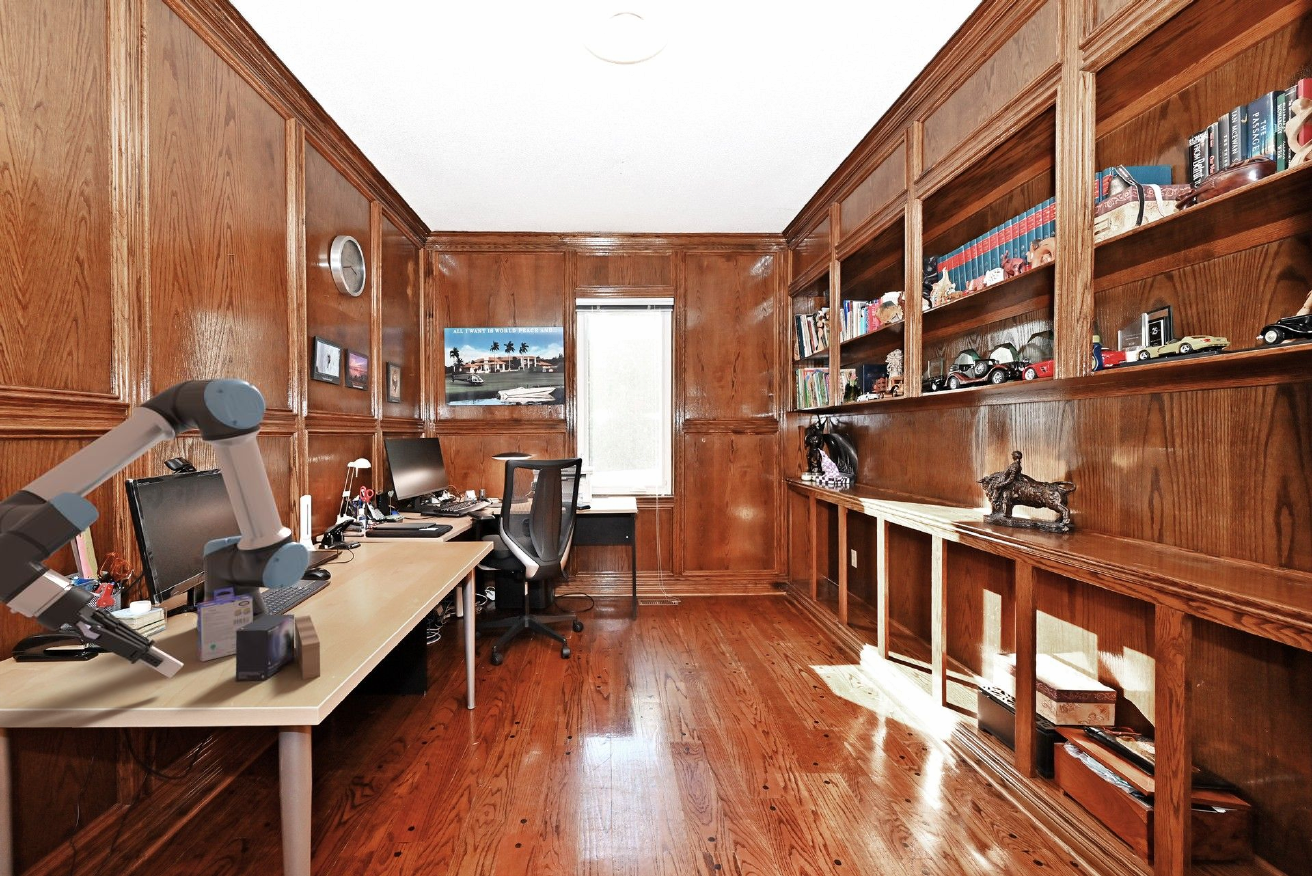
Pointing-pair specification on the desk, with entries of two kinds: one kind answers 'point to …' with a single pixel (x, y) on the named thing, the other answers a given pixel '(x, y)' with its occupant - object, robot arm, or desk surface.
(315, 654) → the walnut board
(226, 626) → the ink cartridge box
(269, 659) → the small box
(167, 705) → the desk surface
